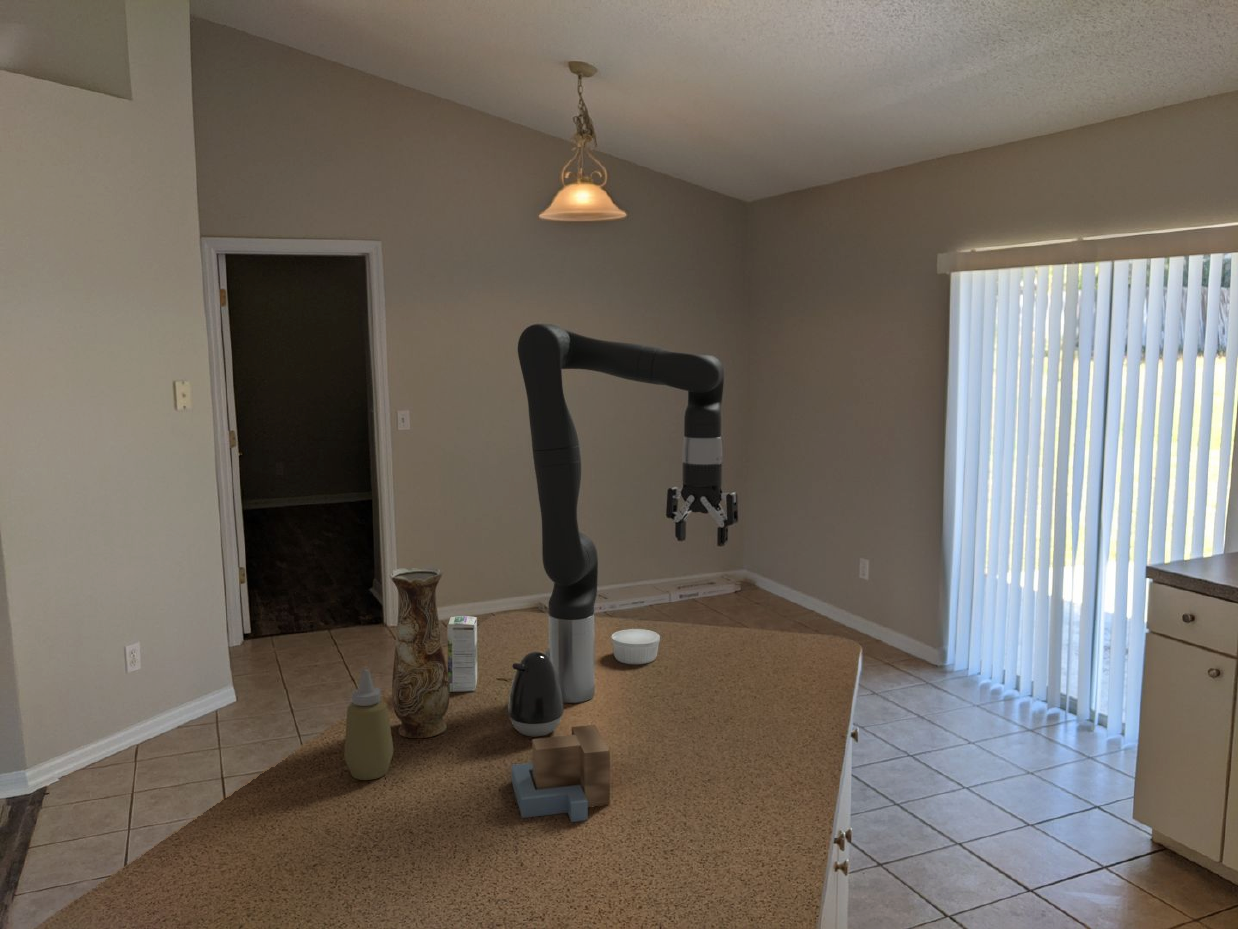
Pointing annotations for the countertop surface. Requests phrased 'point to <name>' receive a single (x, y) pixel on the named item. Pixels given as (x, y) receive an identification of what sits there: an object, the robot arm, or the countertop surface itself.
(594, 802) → the t block
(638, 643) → the ramekin
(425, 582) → the vase
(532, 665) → the roly-poly penguin toy
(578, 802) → the t socket
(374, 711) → the squeeze bottle
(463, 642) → the syrup box
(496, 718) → the countertop surface
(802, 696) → the countertop surface
